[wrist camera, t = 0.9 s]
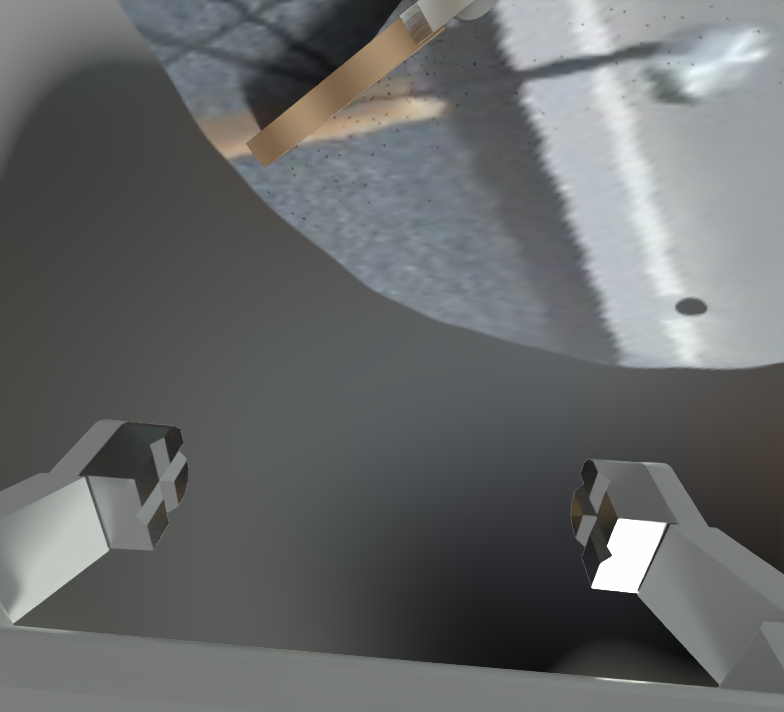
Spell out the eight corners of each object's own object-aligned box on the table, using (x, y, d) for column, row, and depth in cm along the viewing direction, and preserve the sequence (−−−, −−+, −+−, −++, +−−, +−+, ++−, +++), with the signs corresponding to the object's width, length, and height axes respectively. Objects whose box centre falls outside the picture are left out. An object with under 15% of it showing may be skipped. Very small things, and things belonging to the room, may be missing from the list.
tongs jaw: (491, -50, 33) (502, -71, 28) (505, -19, 34) (518, -33, 28) (262, 136, 40) (235, 148, 34) (278, 158, 41) (254, 173, 35)
